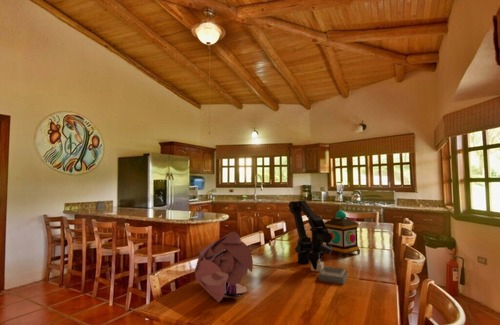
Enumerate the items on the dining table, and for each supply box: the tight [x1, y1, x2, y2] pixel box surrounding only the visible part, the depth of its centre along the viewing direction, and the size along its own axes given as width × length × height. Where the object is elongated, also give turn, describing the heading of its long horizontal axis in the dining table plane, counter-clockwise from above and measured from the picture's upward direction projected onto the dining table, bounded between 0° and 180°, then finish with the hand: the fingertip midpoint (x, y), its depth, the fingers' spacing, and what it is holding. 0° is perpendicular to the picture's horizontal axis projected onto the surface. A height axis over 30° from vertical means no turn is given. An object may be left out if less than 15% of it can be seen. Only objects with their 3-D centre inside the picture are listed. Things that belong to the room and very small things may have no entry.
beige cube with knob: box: [310, 259, 325, 273], centre depth 159 cm, size 6×6×6 cm
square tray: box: [318, 265, 348, 286], centre depth 143 cm, size 12×12×4 cm
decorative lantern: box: [324, 210, 361, 259], centre depth 195 cm, size 20×20×30 cm
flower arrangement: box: [193, 231, 254, 303], centre depth 129 cm, size 35×24×28 cm
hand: (317, 267), depth 159 cm, fingers open, 9 cm apart
